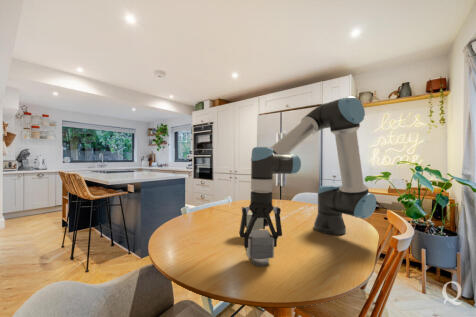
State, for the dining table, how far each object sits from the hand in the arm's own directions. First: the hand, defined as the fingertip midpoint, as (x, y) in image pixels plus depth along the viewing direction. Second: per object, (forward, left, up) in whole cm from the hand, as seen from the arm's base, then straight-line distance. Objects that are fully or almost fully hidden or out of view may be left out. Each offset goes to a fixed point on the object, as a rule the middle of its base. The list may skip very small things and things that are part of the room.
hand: (260, 256), depth 70 cm
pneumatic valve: (-3, -23, -2) cm, 23 cm away
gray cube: (0, 0, +1) cm, 1 cm away
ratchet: (0, -7, -2) cm, 7 cm away
